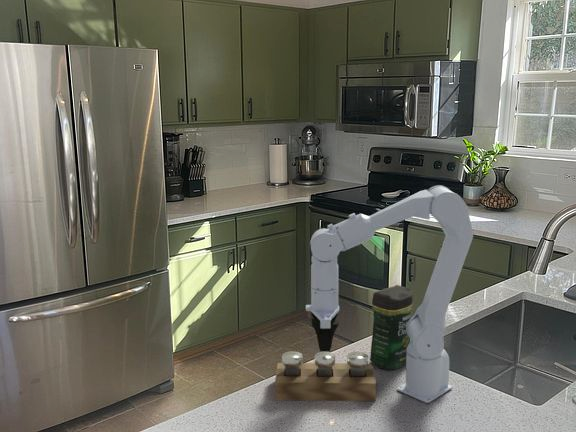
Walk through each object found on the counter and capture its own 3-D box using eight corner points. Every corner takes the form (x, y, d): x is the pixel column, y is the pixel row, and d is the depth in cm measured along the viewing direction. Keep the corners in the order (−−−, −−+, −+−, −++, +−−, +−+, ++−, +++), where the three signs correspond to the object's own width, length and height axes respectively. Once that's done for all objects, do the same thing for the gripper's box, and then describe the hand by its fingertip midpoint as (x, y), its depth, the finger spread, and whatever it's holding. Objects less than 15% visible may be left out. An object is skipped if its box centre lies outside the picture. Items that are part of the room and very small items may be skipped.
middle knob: (334, 375, 123) (334, 351, 122) (335, 385, 119) (335, 360, 118) (314, 375, 124) (314, 351, 122) (314, 384, 119) (314, 360, 118)
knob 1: (302, 375, 124) (302, 351, 123) (302, 384, 119) (302, 360, 118) (283, 374, 124) (282, 351, 123) (281, 384, 120) (281, 360, 118)
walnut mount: (371, 380, 126) (371, 363, 125) (375, 401, 117) (376, 383, 116) (278, 379, 127) (277, 363, 126) (275, 400, 118) (274, 382, 117)
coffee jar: (391, 374, 128) (393, 297, 125) (364, 363, 134) (365, 289, 130) (416, 361, 134) (419, 287, 131) (390, 351, 140) (392, 280, 137)
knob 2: (366, 375, 123) (366, 351, 122) (368, 385, 119) (368, 360, 118) (346, 375, 123) (346, 351, 122) (347, 385, 119) (347, 360, 118)
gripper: (306, 276, 124) (306, 333, 127) (305, 298, 110) (305, 362, 113) (337, 276, 124) (337, 333, 127) (341, 298, 110) (340, 362, 113)
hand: (324, 347), depth 120 cm, fingers open, 3 cm apart
